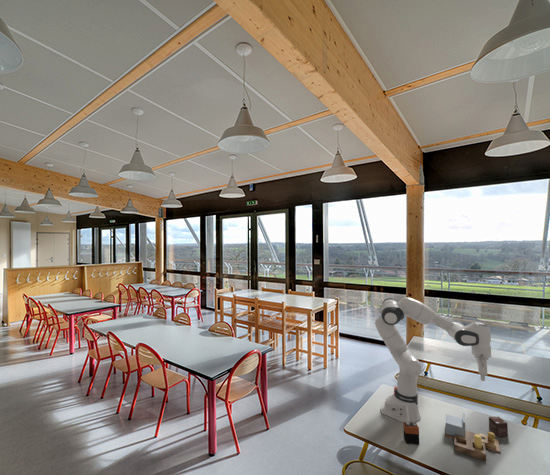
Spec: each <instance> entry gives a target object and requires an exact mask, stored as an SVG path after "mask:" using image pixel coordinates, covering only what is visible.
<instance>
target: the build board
mask: <svg viewBox="0 0 550 475" xmlns="http://www.w3.org/2000/svg"><path fill="white" fill-rule="evenodd" d="M453 440H454V441H453V442H454V445H453V446H454V451H455V452H458V453H460V454H461V453H462V454H464V455H467V456H471V457H474V458H477V459H480V460H483V461H487V452H486V450H487V449H485V444H484V443H482V450H479V449H476V448H475V446H474V440H472V439H469V438H466V437H462V436H459V435H456V434H454V439H453Z"/></svg>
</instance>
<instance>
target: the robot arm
mask: <svg viewBox="0 0 550 475" xmlns="http://www.w3.org/2000/svg"><path fill="white" fill-rule="evenodd" d="M380 312H381V315H380V316H379V317H377V318H376V319H375V322H374V325H375V328H376V329H377V330H376V331H377V333H378V335H379V336H380V338H381V339H382V341H383V342H384V344H385V346H386V347H387V349H388V351H389V353H390V354H391V355H392V358H393V359H394V361H395V362H396V363H397V365H398V367H399V372H398V376H397V377H396V386H394V388H393V389H394V390H393V394H391V395H388V396H387V397H386V398H385V399H384V400H385V401H384V402H383V403H382V404H381V406H380V412H381V414H382V415H385V416H387V417H389V418H392V419H394V420H397V421H399V422H402V423H404V422H410V423H416V422H419V421H420V420H421V414H420V411H419V405H418V404H419V394H418V382H417V381H418V377H419V375H420V374H421V372H422V365H421V362H420V361H419V359H418V358H417V357H416V356H415V355H414V354H413V353H412V352H411V351H410V349H409V347H408V345H407V343H406V341H405V339H404V338H403V335H402V334H401V333H400V330H398V328H397V326H396V325H397V324H398V323H399V322H400V321H402V320H403V319H404V318H405V317H408V318H410V319H412V320H413V321H416V322H417V323H419V324H422V325H429V324H433V325H434V326H437V327H439V328H441V329H442V330H444V331H446V333H448V335H449V336H450V337H451V338H452V339H453V340H454V341H455V342H456V343H457V344H458V345H460V346H462V347H471V354H472V355H473V356H474V358H475V359H476V364H477V369H478V370H477V371H478V374H479V375H480V381H481V382H485V381H486V377H487V376H488V362H487V360H488V361H489V358H492V347H491V341H492V339H491V337H492V336H491V330H490V327H489V326H488V325H487V324H485V323H483V322H481V321H472V322H471V323H469V324H467V325H465V324H463V323H462V322H460V321H459V322H458V321H452V320H449V319H447V318H445V317H444V316H441V315H440V314H438V313H436V312H435V311H434V310H433V309H432V308H431V307H430V306H428V305H426V304H425V303H423V302H422V301H419V300H416V299H415V298H412V297H409V296H408V297H407V296H405V297H402V298H400V300H399V301H397V299H395V298H392V297H387V298H386V299H384V300H383V301H382V303H381V307H380Z"/></svg>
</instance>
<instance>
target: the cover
mask: <svg viewBox="0 0 550 475" xmlns="http://www.w3.org/2000/svg"><path fill="white" fill-rule="evenodd" d="M465 415H466V413H462V417H458V416H454V415H451V414H447V413H446V414H445V425H446V434H448V435H452V436H454V434H456V435H459V436H462V437H466V435H465V430H466V416H465Z"/></svg>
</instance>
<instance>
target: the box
mask: <svg viewBox="0 0 550 475" xmlns="http://www.w3.org/2000/svg"><path fill="white" fill-rule="evenodd" d="M488 430H489V432H492V433H494V434H495V437H497V438H500V437H502V438H503V437H508V436H509V432H508V431H509V430H508V422H506V421H505V420H504V419H503V418H501V417H500V416H488Z"/></svg>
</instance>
